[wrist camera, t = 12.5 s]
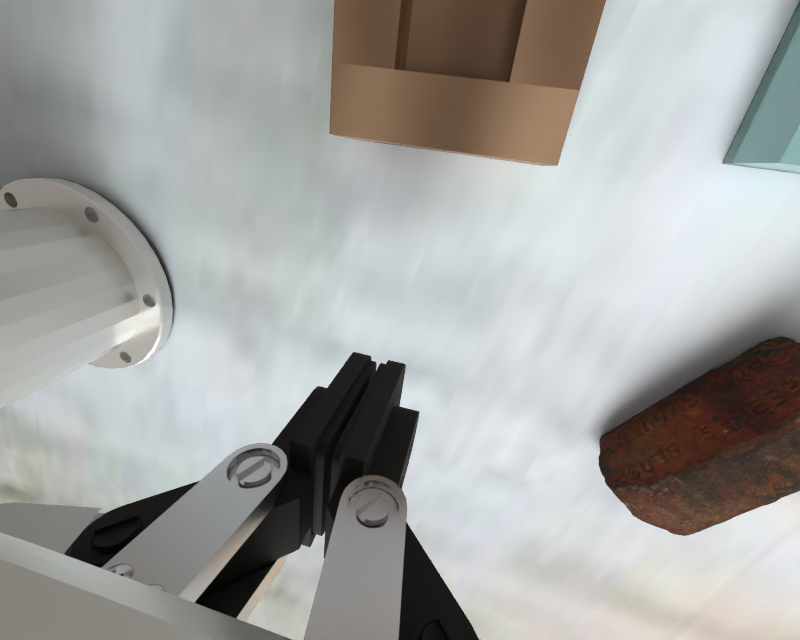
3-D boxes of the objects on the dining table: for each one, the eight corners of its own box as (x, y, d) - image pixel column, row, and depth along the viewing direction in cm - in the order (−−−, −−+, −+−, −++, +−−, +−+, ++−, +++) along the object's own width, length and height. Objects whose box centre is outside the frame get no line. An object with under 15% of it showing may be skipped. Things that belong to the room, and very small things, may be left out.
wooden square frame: (352, 138, 17) (329, 133, 14) (369, -130, 13) (342, -207, 10) (543, 165, 16) (557, 165, 13) (621, -119, 12) (665, -201, 9)
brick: (772, 324, 17) (871, 378, 13) (824, 375, 17) (936, 443, 13) (586, 439, 21) (613, 506, 17) (631, 477, 22) (668, 552, 18)
